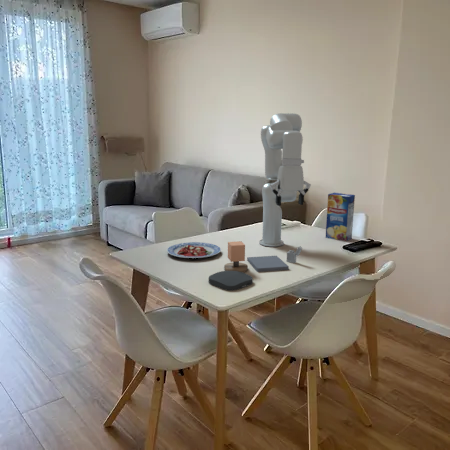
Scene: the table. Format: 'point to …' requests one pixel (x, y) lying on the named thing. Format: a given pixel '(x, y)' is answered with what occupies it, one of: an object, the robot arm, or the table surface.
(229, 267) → the round pedestal stand
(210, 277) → the media streaming box
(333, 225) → the juice carton
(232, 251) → the peach cube block
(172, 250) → the ceramic plate
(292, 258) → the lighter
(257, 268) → the mat
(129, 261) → the table surface
